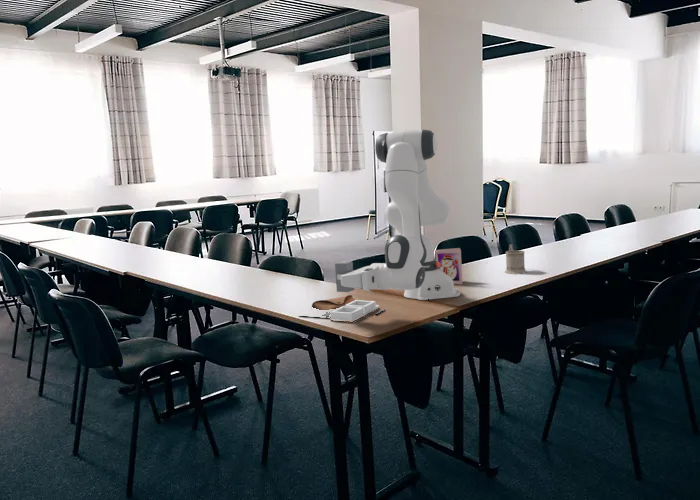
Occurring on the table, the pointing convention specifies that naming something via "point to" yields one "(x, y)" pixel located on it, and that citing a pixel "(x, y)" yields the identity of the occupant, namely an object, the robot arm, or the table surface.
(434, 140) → the robot arm
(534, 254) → the table surface
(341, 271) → the block
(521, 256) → the stone pedestal
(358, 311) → the white compartment tray
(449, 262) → the greeting card
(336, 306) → the sunglasses case
